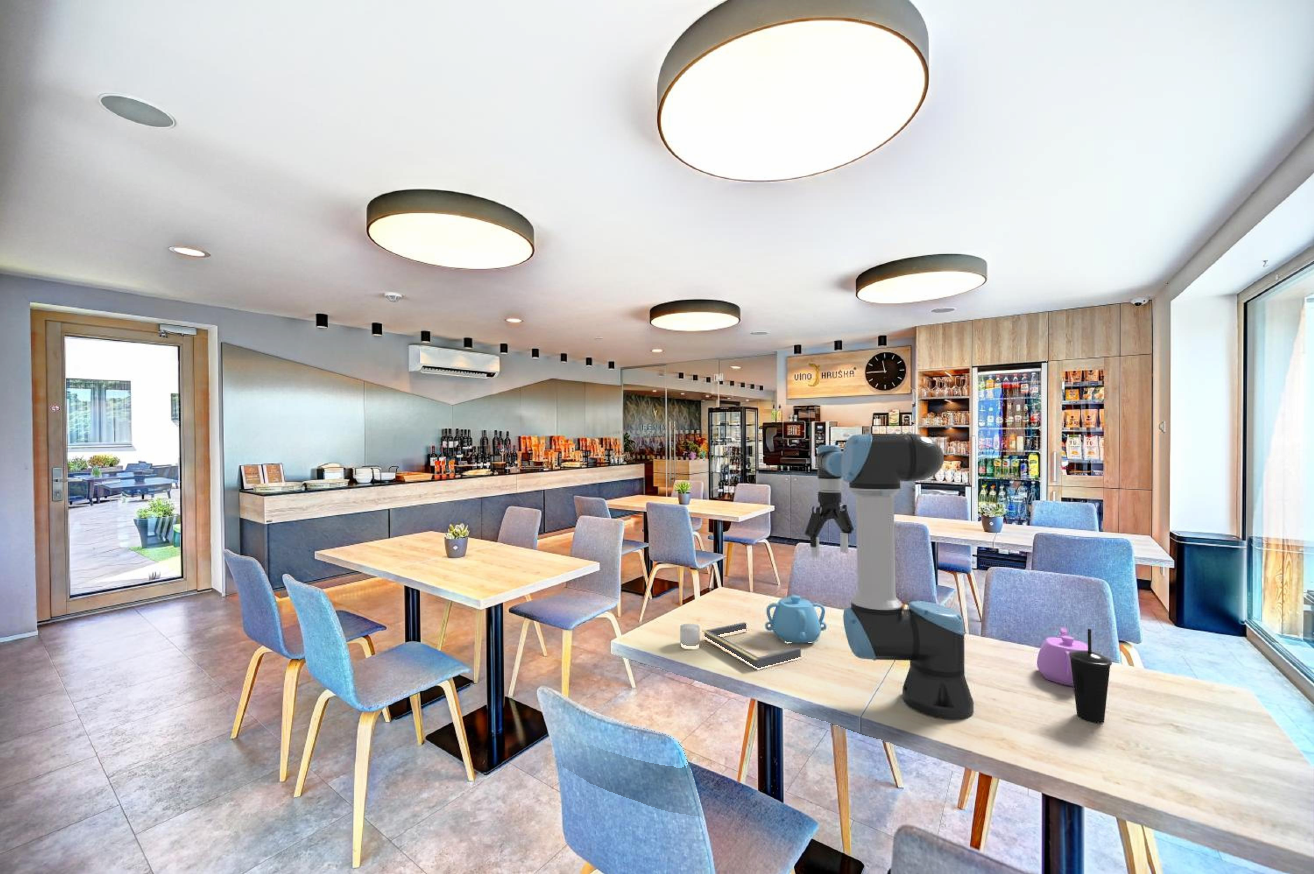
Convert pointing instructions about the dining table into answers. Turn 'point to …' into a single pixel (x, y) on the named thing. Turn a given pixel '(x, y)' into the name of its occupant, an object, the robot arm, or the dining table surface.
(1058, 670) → the teapot
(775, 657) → the grey piece
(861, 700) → the dining table surface
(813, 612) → the decorative pot
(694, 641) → the white rounded cylinder
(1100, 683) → the drinking cup
